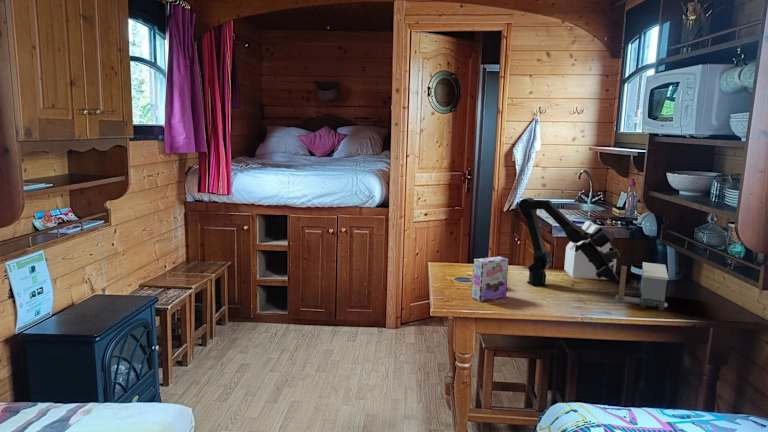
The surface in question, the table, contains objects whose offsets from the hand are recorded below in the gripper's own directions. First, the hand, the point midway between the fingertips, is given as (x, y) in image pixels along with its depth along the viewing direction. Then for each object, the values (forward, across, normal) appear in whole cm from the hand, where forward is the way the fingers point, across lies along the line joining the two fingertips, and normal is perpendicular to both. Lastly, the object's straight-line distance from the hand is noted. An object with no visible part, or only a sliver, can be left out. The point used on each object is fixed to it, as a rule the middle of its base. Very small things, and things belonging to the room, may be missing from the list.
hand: (618, 283), depth 215 cm
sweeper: (+10, 0, 0) cm, 10 cm away
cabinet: (+14, +4, -4) cm, 15 cm away
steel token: (+16, 0, -6) cm, 18 cm away
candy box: (-29, -26, +38) cm, 54 cm away
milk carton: (-5, +35, +15) cm, 38 cm away
